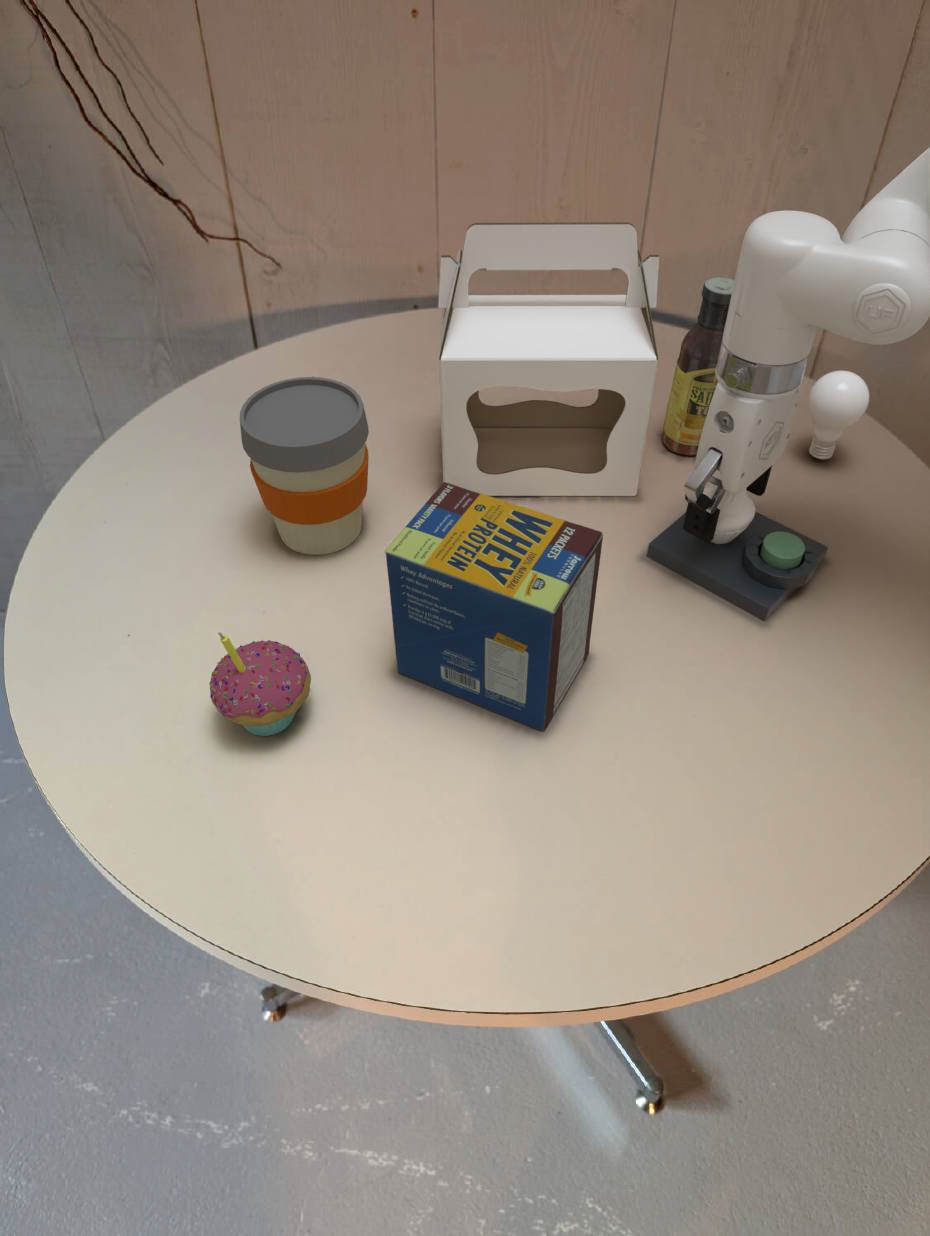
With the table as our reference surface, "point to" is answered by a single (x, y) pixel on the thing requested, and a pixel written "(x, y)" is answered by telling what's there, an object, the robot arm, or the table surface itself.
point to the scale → (737, 564)
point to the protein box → (493, 602)
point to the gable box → (547, 364)
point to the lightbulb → (835, 409)
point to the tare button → (782, 550)
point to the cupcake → (260, 685)
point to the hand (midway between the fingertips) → (724, 511)
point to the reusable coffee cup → (309, 460)
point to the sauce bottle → (697, 370)
